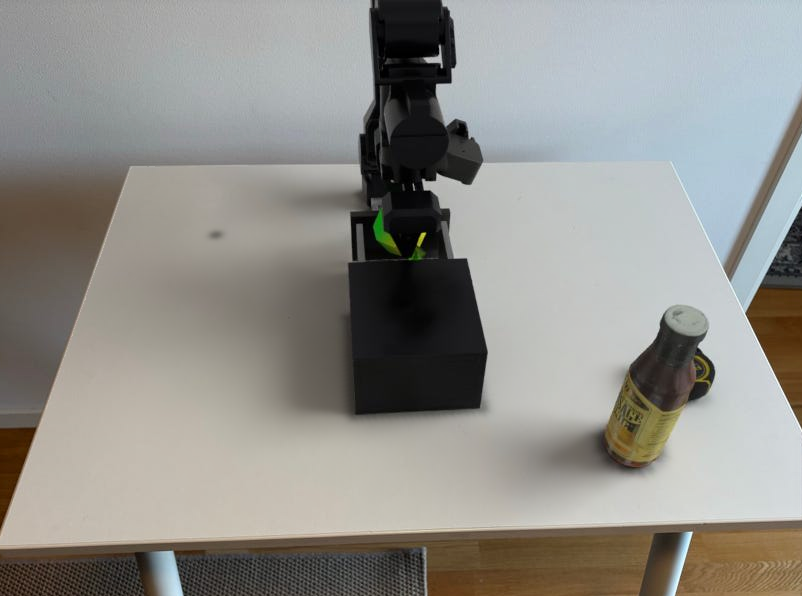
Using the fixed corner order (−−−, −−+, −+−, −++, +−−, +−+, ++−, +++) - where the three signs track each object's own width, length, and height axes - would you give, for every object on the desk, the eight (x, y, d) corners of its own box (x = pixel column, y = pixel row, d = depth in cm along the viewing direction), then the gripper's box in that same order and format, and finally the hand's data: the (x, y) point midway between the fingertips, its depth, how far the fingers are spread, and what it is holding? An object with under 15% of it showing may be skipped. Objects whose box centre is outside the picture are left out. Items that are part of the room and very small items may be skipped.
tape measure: (691, 361, 90) (701, 339, 87) (717, 403, 86) (728, 382, 83) (638, 367, 89) (646, 345, 86) (661, 411, 85) (671, 389, 82)
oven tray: (350, 234, 104) (348, 189, 99) (442, 231, 105) (445, 187, 100) (356, 330, 91) (354, 284, 86) (460, 325, 92) (465, 280, 87)
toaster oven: (350, 319, 94) (347, 262, 87) (461, 314, 95) (467, 257, 88) (355, 414, 83) (352, 358, 76) (480, 408, 84) (488, 352, 78)
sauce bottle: (595, 426, 83) (639, 291, 68) (650, 423, 83) (705, 289, 69) (610, 475, 78) (661, 342, 64) (668, 472, 79) (731, 339, 64)
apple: (381, 185, 89) (424, 225, 85) (414, 198, 94) (457, 237, 90) (351, 235, 92) (392, 276, 87) (385, 245, 97) (425, 285, 92)
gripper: (495, 163, 74) (480, 282, 85) (468, 76, 87) (459, 190, 98) (383, 166, 73) (384, 286, 85) (373, 78, 86) (375, 192, 97)
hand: (404, 235), depth 91 cm, fingers open, 8 cm apart
